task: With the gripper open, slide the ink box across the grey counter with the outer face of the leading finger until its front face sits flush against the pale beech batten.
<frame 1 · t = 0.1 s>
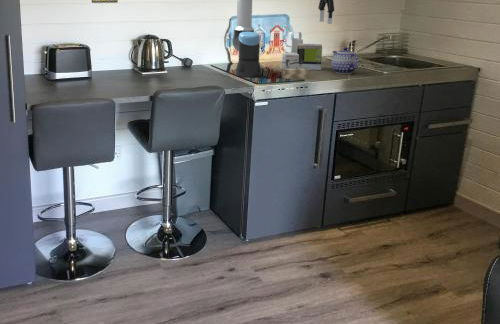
hand: (325, 22, 341), 28 cm above the countertop, fingers open, 13 cm apart
batten: (296, 78, 321), on the countertop
grater: (293, 64, 368), on the countertop
ink box: (289, 74, 334), on the countertop
teapot: (343, 73, 343), on the countertop
tea box: (308, 69, 353), on the countertop
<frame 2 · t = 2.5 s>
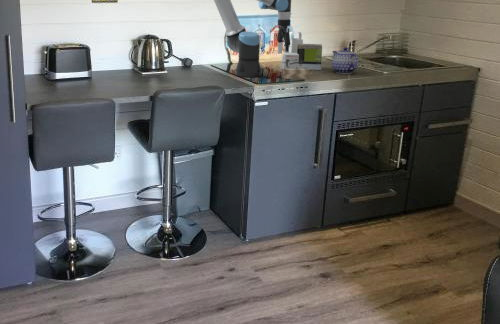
hand: (283, 55, 346), 8 cm above the countertop, fingers open, 13 cm apart
nothing on the countertop moved.
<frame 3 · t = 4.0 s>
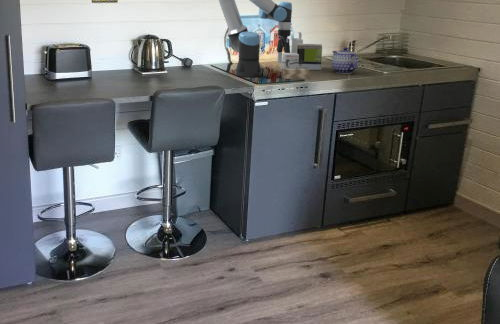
hand: (282, 65, 346), 3 cm above the countertop, fingers open, 13 cm apart
nothing on the countertop moved.
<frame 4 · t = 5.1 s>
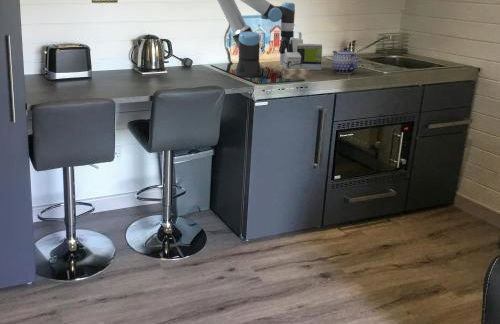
hand: (285, 66, 341), 3 cm above the countertop, fingers open, 13 cm apart
ink box: (289, 72, 333), point 1 cm above the countertop, touching gripper, hand
everything else where it was.
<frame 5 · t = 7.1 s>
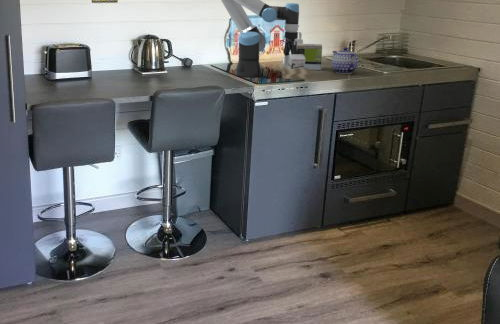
hand: (289, 68, 334), 3 cm above the countertop, fingers open, 13 cm apart
ink box: (294, 75, 326), point 1 cm above the countertop, touching batten, gripper, hand
everything else where it was.
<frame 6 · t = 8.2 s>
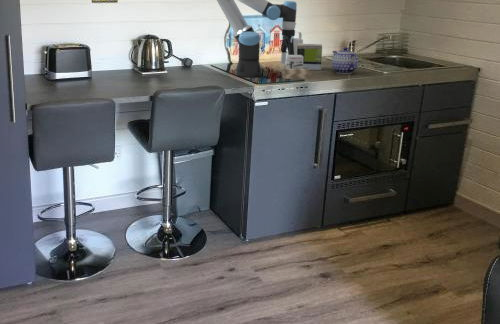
hand: (286, 65, 338), 4 cm above the countertop, fingers open, 13 cm apart
ink box: (294, 76, 327), on the countertop
everything else where it was.
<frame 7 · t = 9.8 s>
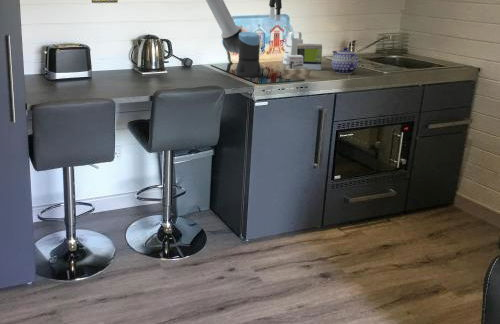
hand: (274, 19, 342), 29 cm above the countertop, fingers open, 13 cm apart
nothing on the countertop moved.
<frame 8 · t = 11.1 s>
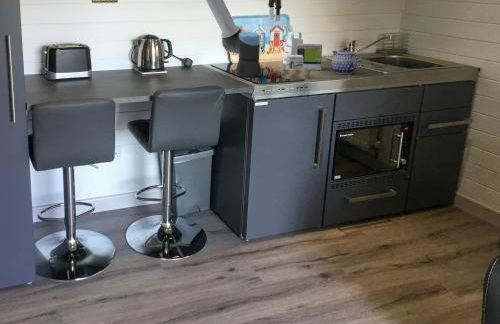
hand: (274, 19, 342), 29 cm above the countertop, fingers open, 13 cm apart
nothing on the countertop moved.
at the end: ink box 0.9 cm from the target spot on the countertop beside the batten, on the countertop; ink box tilted 0° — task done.
